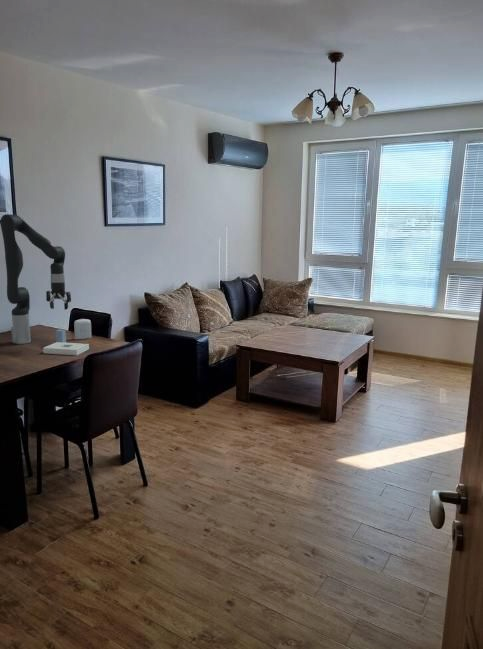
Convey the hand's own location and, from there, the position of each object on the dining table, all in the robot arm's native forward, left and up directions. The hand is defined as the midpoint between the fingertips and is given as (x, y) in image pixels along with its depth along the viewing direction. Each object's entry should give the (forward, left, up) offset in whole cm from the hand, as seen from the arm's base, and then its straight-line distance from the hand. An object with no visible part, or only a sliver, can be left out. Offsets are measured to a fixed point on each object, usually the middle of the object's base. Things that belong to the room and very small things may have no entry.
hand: (59, 309), depth 279 cm
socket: (+10, -12, -22) cm, 27 cm away
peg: (0, 0, -22) cm, 22 cm away
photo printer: (+4, +19, -22) cm, 29 cm away
